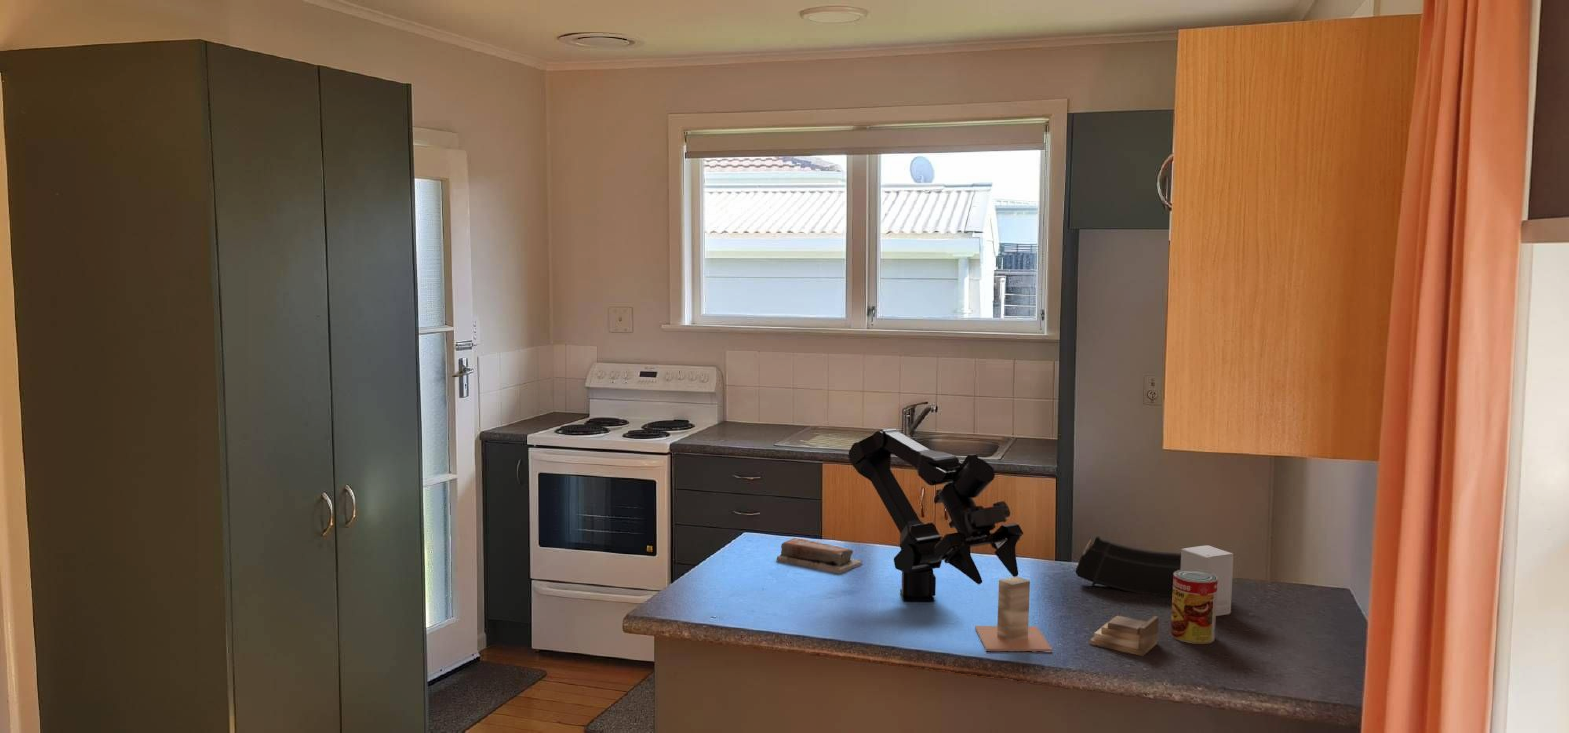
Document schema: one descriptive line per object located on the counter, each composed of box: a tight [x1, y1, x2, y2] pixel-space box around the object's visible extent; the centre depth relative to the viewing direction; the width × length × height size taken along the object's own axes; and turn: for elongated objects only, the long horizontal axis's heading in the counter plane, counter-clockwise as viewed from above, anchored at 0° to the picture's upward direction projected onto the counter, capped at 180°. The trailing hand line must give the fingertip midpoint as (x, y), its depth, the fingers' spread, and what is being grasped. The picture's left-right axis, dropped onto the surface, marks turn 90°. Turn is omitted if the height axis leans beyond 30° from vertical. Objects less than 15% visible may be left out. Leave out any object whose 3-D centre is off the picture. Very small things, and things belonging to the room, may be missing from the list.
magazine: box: [1075, 535, 1181, 598], centre depth 236 cm, size 17×3×30 cm
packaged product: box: [776, 537, 863, 575], centre depth 256 cm, size 18×5×10 cm
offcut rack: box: [1089, 615, 1159, 657], centre depth 206 cm, size 10×8×5 cm
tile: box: [974, 625, 1053, 652], centre depth 207 cm, size 12×12×1 cm
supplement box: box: [1180, 544, 1234, 617], centre depth 224 cm, size 7×7×13 cm
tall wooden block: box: [996, 575, 1031, 642], centre depth 206 cm, size 4×4×11 cm
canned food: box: [1170, 569, 1218, 645], centre depth 209 cm, size 8×8×12 cm
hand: (998, 579), depth 210 cm, fingers open, 9 cm apart
